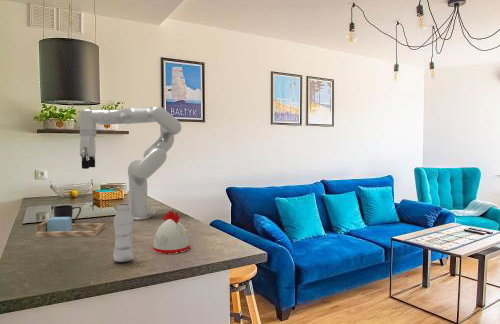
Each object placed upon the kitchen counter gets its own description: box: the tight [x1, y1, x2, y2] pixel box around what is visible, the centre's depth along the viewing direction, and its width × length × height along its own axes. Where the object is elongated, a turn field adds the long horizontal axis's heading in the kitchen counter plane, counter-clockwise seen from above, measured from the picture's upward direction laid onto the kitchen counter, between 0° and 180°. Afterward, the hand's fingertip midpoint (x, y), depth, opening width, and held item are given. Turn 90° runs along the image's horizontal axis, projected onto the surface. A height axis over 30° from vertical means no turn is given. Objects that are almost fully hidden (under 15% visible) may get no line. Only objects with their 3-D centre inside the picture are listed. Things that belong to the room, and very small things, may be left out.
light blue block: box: [46, 216, 73, 232], centre depth 160 cm, size 8×6×6 cm
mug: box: [53, 204, 82, 224], centre depth 178 cm, size 8×12×10 cm
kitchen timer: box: [152, 210, 190, 253], centre depth 141 cm, size 14×14×15 cm
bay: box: [35, 220, 107, 238], centre depth 161 cm, size 24×16×6 cm, turn 96°
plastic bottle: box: [112, 203, 134, 263], centre depth 125 cm, size 6×7×20 cm
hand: (88, 167), depth 181 cm, fingers open, 9 cm apart
